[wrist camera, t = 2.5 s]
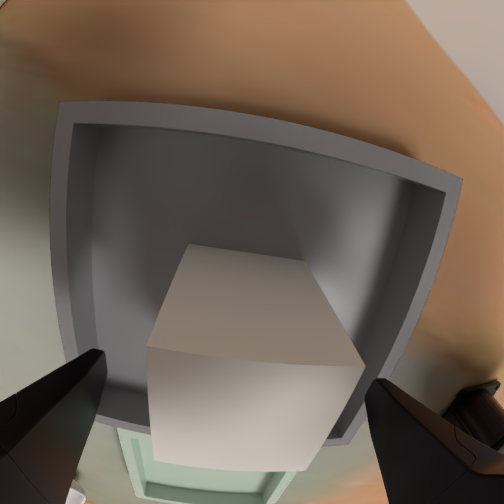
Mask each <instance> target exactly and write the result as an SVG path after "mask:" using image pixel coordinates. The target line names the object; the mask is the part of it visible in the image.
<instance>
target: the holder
mask: <svg viewBox="0 0 504 504" xmlns="http://www.w3.org/2000/svg"><path fill="white" fill-rule="evenodd" d="M117 431H118V435H119V439H120V443H121V447H122V451H123V455H124V458H125V462H126V465H127V469H128V472H129V475H130V478H131V482H132V485H133V488H134V491H135V494H136V496H137V497H139V498H144V499H148V500H154V501H159V502H165V503H171V504H275V503H276V501H277V500H278V499H279V497H280V496H281V494H282V493H283V492H284V490H285V489H286V487H287V486H288V484H289V483H290V481H291V480H292V478H293V477H294V475H295V474H296V472H297V471H282V472H257V471H233V470H219V469H208V468H199V467H191V466H183V465H177V464H170V463H164V462H159V461H154V456H153V447H152V438H151V435H148V434H143V433H139V432H134V431H130V430H126V429H122V428H118V427H117Z"/></svg>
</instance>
